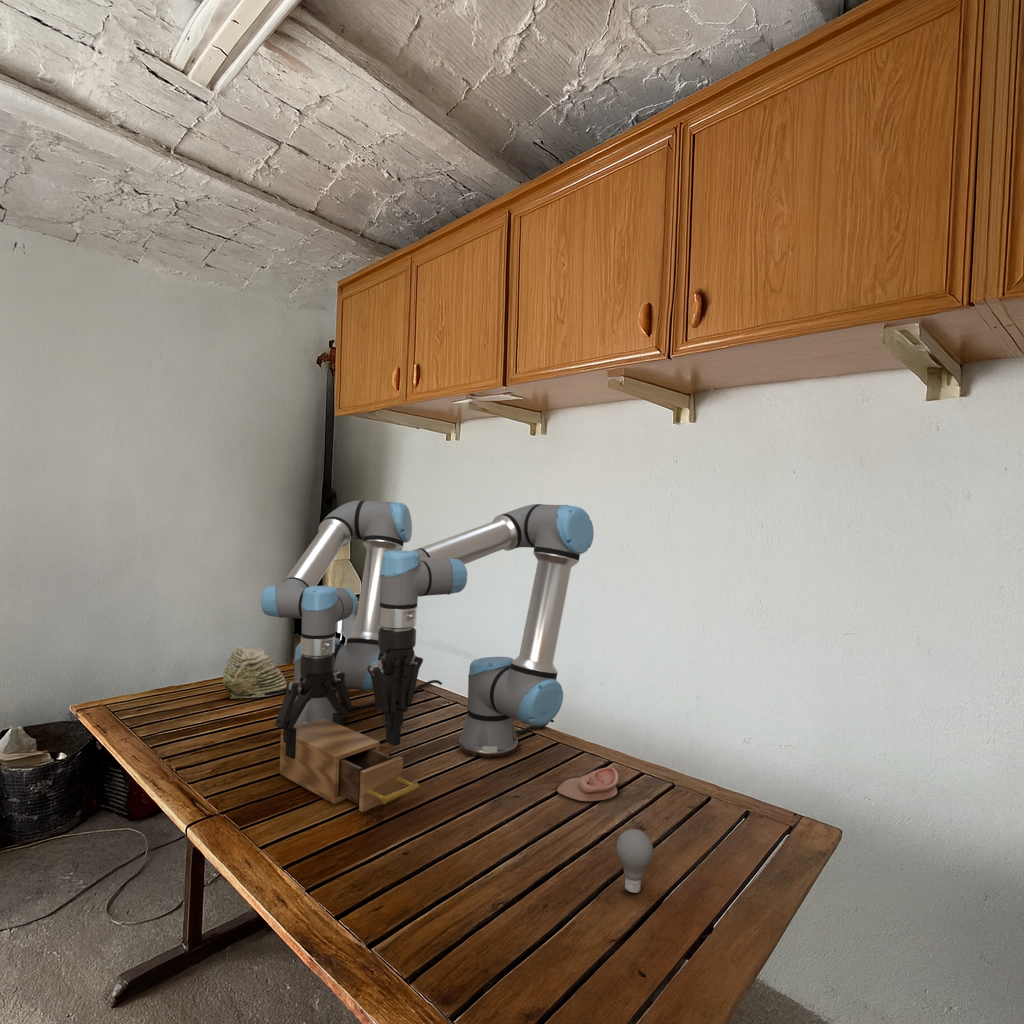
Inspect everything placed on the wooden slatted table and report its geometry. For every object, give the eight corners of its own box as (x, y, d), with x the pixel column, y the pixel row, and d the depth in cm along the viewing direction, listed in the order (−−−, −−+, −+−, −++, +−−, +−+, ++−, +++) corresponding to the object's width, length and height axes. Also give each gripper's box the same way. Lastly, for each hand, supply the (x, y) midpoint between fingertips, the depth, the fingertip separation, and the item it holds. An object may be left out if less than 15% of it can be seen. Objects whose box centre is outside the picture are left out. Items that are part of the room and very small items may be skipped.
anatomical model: (555, 779, 137) (562, 758, 149) (554, 797, 138) (561, 775, 149) (617, 787, 135) (619, 766, 146) (616, 806, 135) (618, 783, 146)
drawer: (421, 804, 130) (422, 766, 130) (382, 823, 122) (383, 782, 122) (345, 767, 146) (346, 733, 146) (306, 782, 138) (307, 745, 138)
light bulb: (610, 879, 108) (613, 822, 108) (644, 879, 109) (647, 822, 109) (619, 902, 102) (622, 840, 102) (655, 901, 103) (658, 840, 103)
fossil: (218, 695, 195) (220, 647, 195) (278, 685, 208) (279, 640, 207) (228, 703, 189) (230, 653, 188) (289, 692, 201) (290, 645, 201)
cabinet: (378, 786, 140) (379, 741, 140) (334, 804, 131) (335, 756, 131) (322, 759, 153) (324, 718, 152) (279, 773, 144) (280, 730, 144)
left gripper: (279, 667, 133) (275, 769, 134) (369, 649, 152) (366, 739, 152) (260, 660, 138) (256, 759, 138) (350, 643, 156) (347, 731, 157)
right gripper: (384, 635, 120) (379, 757, 121) (433, 626, 131) (429, 739, 131) (359, 628, 125) (354, 747, 126) (409, 620, 135) (404, 730, 136)
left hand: (314, 749), depth 145 cm, fingers closed on cabinet, 11 cm apart
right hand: (392, 743), depth 128 cm, fingers closed
